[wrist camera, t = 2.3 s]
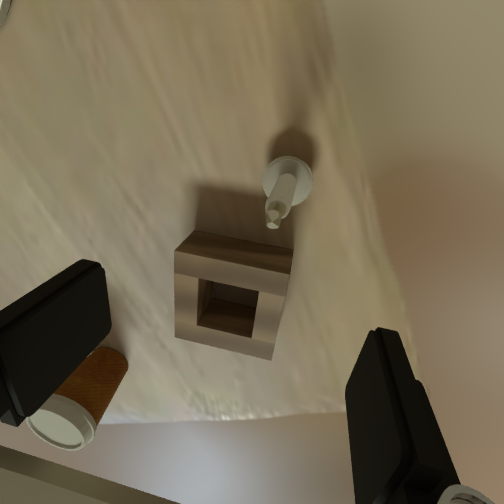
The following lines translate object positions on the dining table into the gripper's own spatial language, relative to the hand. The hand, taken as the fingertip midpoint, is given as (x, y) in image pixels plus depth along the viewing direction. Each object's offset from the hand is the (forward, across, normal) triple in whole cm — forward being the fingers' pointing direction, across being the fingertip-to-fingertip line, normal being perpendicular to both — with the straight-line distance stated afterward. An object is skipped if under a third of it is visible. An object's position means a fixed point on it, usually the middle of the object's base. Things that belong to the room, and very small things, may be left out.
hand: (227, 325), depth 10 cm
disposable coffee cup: (+23, +24, +35) cm, 48 cm away
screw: (+23, 0, 0) cm, 23 cm away
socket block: (+22, +4, +14) cm, 27 cm away
